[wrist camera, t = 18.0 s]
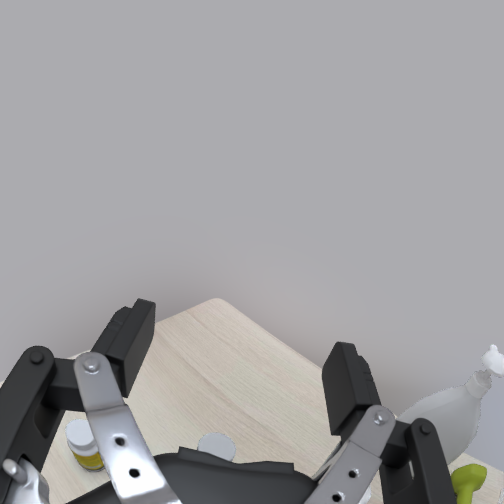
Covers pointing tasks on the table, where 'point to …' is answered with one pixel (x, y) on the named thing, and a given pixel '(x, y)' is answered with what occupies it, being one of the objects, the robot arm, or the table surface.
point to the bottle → (218, 445)
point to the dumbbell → (467, 481)
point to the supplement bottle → (83, 445)
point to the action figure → (501, 496)
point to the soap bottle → (457, 407)
